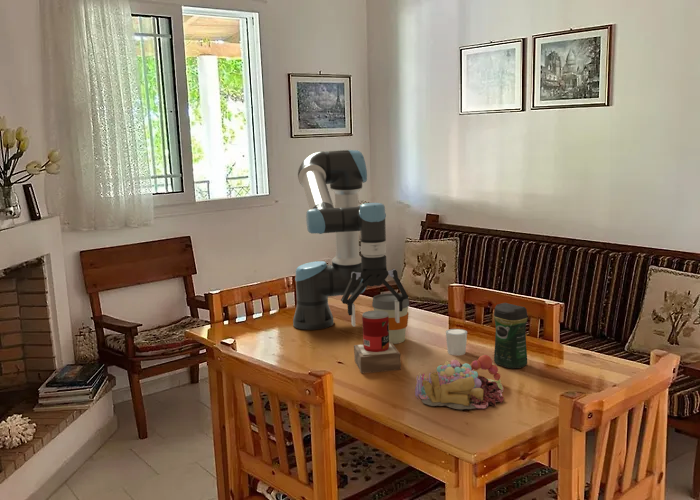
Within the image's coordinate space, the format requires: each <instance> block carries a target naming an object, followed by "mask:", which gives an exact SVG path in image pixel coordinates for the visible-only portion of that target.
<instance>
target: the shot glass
mask: <svg viewBox="0 0 700 500" xmlns="http://www.w3.org/2000/svg"><path fill="white" fill-rule="evenodd" d="M467 338H468V331H467V330H465V329H462V328H450V329H447V330H446V331H445V339H446V349H447V354H448V355H450V356H463V355H465V354H466V351H467V340H468V339H467Z"/></svg>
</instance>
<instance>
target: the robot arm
mask: <svg viewBox="0 0 700 500" xmlns="http://www.w3.org/2000/svg"><path fill="white" fill-rule="evenodd" d="M297 179H298V183H299V185H300V186H301V187H302V188H303V190H304V192H305V197H306V200H307V204H308V207H309V210H308V209H307V211H306V216H305V218H306V220H305V221H306V227H307V231H308V233H310V234H319V235H323V234H332V233H335V256H334V257H333V258H332V259H331V264H327V262H326V261H323V260H320V261H319V260H318V261H310V262H306V263H302V264H300V265H298V266H297V268H295V278H294V281H295V289H296V290H295V291H296V292H295V293H296V307H295V312H294V315H293V319H292V323H293V327H294V328H295V329H298V330H303V331H304V330H307V331H308V330H309V331H312V330H313V331H314V330H315V331H316V330H323V329H326V328H329V327H332V326H333V325H334V316H333V313H332V311H331V308H330V305H329V299H328V298H329V297H338V296H342V297H341V299H340V301H341V303H342V304H343V305H344V304H345V305H346V306H347V315H348V316H350V317H351V318H350V319H351V326H352V327H356V305H355V304H354V303H355V301H356V300H357V299H358V298H359V296H360V295H361V294H363V293H364V292H365V291H366V289H367V287H368V286H369V287H374V286H377V287H380V286H381V285H384V286H385V288H386V289H387V290H388V291H389V293H392V294H393V295H394V296H395V297H396V298H397V300H395V321H396V322H397V323H400V320H399V311H402V302H403V300H405V299H408V300H409V295H408V293H407V292H406V289H405V287H404V286H403V284H402V282H401V280H400V278H399V276H398V271H397V269H395V268H392V269H390V270H388V269H387V266H388V265H387V256H386V253H387V245H386V244H387V238H386V237H387V235H386V234H387V233H386V230H387V229H386V217H387V213H386V207H385V204H384V203H381V202H367V203H366V202H365V203H362V204H360V205H359V192H360V191H361V190H362V189H363V183H366V182H367V180H368V170H367V165H366V161H365V157H364V155H363V153H362V152H361V151H360V150H359V149H357V150H356V149H355V150H354V149H352V150H351V149H344V150H341V149H340V150H328V151H327V150H325V151H316V152H314V153H311V154H310V155H308V156H307V157H306V158H304V160H302V162H301V164H300V165H299V167H298V171H297ZM327 185H329V187H330V190H331V191H333V192H334V203H333V201H332V198H331V195H330V191H329V188H328V186H327ZM359 236H360V237H359ZM359 238H360V239H359ZM360 254H361V255H362V256H361V255H360ZM388 276H390V277H391V278H392V279H393V281H394V282H395V285H396V286H397V289H398V290H399V292H400V293H398V292H397V291H396V290H395V289H394V288H393V287H392V286H391V285H390V283H388V281H387V280H386V279H387V278H388ZM399 294H402V295H401V296H400V295H399Z"/></svg>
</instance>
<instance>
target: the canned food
mask: <svg viewBox="0 0 700 500" xmlns="http://www.w3.org/2000/svg"><path fill="white" fill-rule="evenodd" d="M361 316H362V321H361V322H362V343H363V344H362V345H363V346H364V349H365V350H367V351H370V352H382V351H386V350H387V349H388V348H389V316H388V313H387V312H385V311H378V310H375V311H374V310H368V311H365V312H362V315H361Z"/></svg>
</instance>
